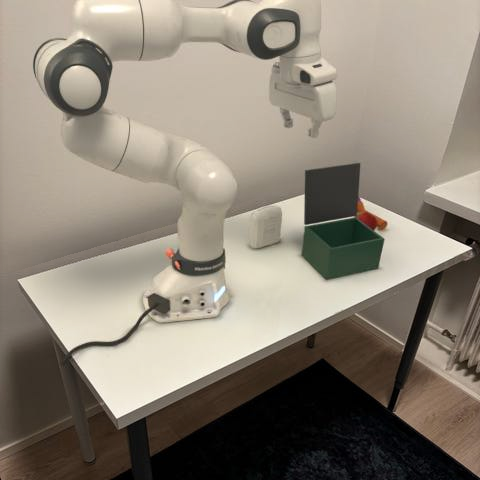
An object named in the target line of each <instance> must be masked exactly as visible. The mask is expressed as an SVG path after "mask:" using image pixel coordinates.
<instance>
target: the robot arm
mask: <svg viewBox="0 0 480 480" xmlns="http://www.w3.org/2000/svg"><path fill="white" fill-rule="evenodd" d="M321 3H322V2H321V0H260V1H259V2H255V1H253V0H231V1H229V2H227V3H225V4H223V5H221V6H218V7H204V6H203V7H201V6H184V5H180V4H178V3H176V1H174V0H75V2H74V3H73V6H72V9H71V16H70V22H71V31H70V34H69V36H68V37H67V38H62V37H55V38H54V37H53V38H50V39H47V40H46V41H44V42H42V43H41V44H40V45H39V47H38V48H37V50H36V51H35V53H34V56H33V61H32V69H33V75H34V77H35V79H36V82H37V83H38V86H39V88H40V89H41V91H42V93H43V94H44V95H45V97H46V98H48V100H49V101H50V102H51V103H52V104H53V105H54V106H55V107H56V108H57V109H58V110H60V111H61V113H62V120H61V124H60V137H61V141H62V144H63V146H64V148H65V149H66V150H68V151H69V152H70V153H71V154H73V155H75V156H77V157H79V158H80V159H82V160H84V161H86V162H89V163H91V164H93V165H95V166H97V167H99V168H102V169H104V170H107V171H110V172H113V173H115V174H117V175H118V174H119V175H122V176H124V177H127V178H130V179H134V180H136V181H139V182H142V183H145V184H146V183H147V184H148V183H160V184H165V185H169V186H171V187H173V188H175V189H176V190H178V191H179V192H180V194H181V197H182V209H181V215H180V216H179V218H178V219H177V224H176V226H177V242H178V248H177V250H176V252H175V251H174V250H173V248H168V249H166V251H165V255H166V256H167V258H168V259H169V260H171V264H169V265H168V266H166V268H164V269H163V270H161V271H160V272H159V273H157V275H156V276H154V277H153V279H152V283H151V287H150V288H151V289H148V290H146V291H145V292H144V294H143V297H142V304H143V307H144V310H145V311H144V312H143V313H142V314H141V315H140V316H139V318H138V319H137V321H136V322H135V324H134V325H133V326H132V327H131V329H129V331H127V333H126V334H125V335H123V337H121V338H118V339H116V340H112V341H102V340H101V341H99V340H98V341H97V340H96V341H87V342H85V343H81V344H79V345H77V346H75V347H73V348H72V349H70V350H69V351H68V352H67V353H66V354H65V356H64V358H63V359H62V360H61V362H60V366H62V367H63V366H65V365H66V363H67V362H68V360H69V359H70V358H71V356H72V355H73V354H74V353H76V352H77V351H79V350H81V349H85V348H87V347H90V346H115V345H118V344H121V343H123V342H125V341H126V340H127V339H128V338H130V337H131V336H132V335H133V334H134V332H135V331H136V330H137V329H138V327H139V326H140V324H141V323H142V321H143V320H144V319H145V318H146V317H147V315H148V316H149V318H151V319H152V320H153V321H154V322H157V323H159V324H160V323H161V324H164V323H173V322H182V321H183V322H184V321H192V320H201V319H211V318H217V317H218V316H219V315H220V313H221V310H222V309H223V308H225V306H226V305H227V304H228V303H229V301H230V292H229V290H228V286H227V282H226V276H225V269H226V263H227V260H226V259H227V257H226V249H225V248H224V239H225V238H224V237H225V236H224V234H225V233H224V232H225V219H226V216H227V212H228V209H229V208H231V206H233V204H234V203H235V201H236V199H237V196H238V191H239V189H238V183H237V180H236V178H235V176H234V174H233V172H232V170H231V169H230V168H229V166H228V165H227V164H226V163H225V162H223V160H221V159H220V158H219V157H217V156H216V154H214V153H213V152H211V150H210V149H208V148H207V147H206V146H205V145H203V144H201V142H197V141H194V140H192V139H189V138H186V137H183V136H179V135H176V134H173V133H169V132H166V131H162V130H159V129H157V128H155V127H151V126H149V125H147V124H145V123H142V122H141V121H137V120H135V119H133V118H131V117H128V116H125V115H124V114H121V113H118V112H117V111H116V112H115V111H114V110H111V109H109V108H108V107H107V106H104V104H105V102H106V100H107V97H108V94H109V89H110V82H111V76H112V72H113V68H114V67H113V65H114V64H113V63H115V62H123V61H124V62H152V61H160V60H164V59H169V58H172V57H173V56H174V55H175V54H176V53H177V52H178V50H179V49H180V47H181V45H183V44H187V43H188V44H189V43H217V44H220V45H222V46H224V47H225V48H227V49H228V50H231V51H233V52H236V53H242V54H243V55H245V56H248V57H252V58H255V59H257V60H261V61H262V60H263V61H268V60H273V59H275V58H278V59H279V60H278V61H276V62H274V64H273V65H272V67H271V70H270V71H271V72H270V73H271V74H270V76H269V82H268V100H269V103H270V104H271V105H272V106H273V107H277V108H279V113H280V116H281V118H282V120H283V128H286V129H291V128H293V127H294V119H292V117H291V113H290V112H292V113H293V114H294V113H295V114H298V115H300V116H302V117H303V116H304V117H306V118H309V119H310V123H311V124H312V125H311V128H308V131H307V132H308V137H309V138H313V139H315V138H318V137H319V135H320V133H319V132H320V131H319V130H320V128H321V126H322V123H324V122H327V121H330V120H332V119H334V117H335V115H336V113H337V86H336V83H335V82H334V80H336V79H337V77H338V72H337V68H335V67H334V66H333V65H332V64H330V63H329V62H328V61H327V60H326V59H325V58H324V57H323V56H321V54H322V48H321V44H320V34H321V30H322V4H321Z"/></svg>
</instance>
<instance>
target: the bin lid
mask: <svg viewBox="0 0 480 480" xmlns="http://www.w3.org/2000/svg"><path fill="white" fill-rule="evenodd" d="M360 176H361V163H360V162H355V163H354V162H353V163H347V164H339V165H333V166H325V167H324V166H323V167H318V168H311V169H305V170H304V203H303V206H304V208H303V209H304V212H303V224H304V225H305V226H309V225H315V224H321V223H326V222H332V221H337V220H343V219H349V218H354V217H355V216H357V214H358V212H357V208H358V196H359V192H360V191H359V190H360V179H361V178H360Z"/></svg>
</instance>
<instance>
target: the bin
mask: <svg viewBox="0 0 480 480" xmlns="http://www.w3.org/2000/svg"><path fill="white" fill-rule="evenodd" d="M303 229H304V230H303V238H302V246H301V255H300V256H301V257H302V258H303V259H304V260H305V261H306V262H307V263H308V264H309V265H310V266H311V267H312V268H313V269H314V270H315V271H316V272H317V273H318V274H319V275H320V276H321V277H322V278H323V279H324V280H325V281H329V280H333V279H338V278H342V277H347V276H351V275H355V274H361V273H364V272H365V273H366V272H369V271H373V270H378V269H379V267H380V262H381V257H382V253H383V248H384V244H385V239H386V238H384V237H383V236H382V235H380V234H379V233H378V232H376V231H375V230H372V229H371V228H370V227H368V226H367V225H366V224H364V223H363V222H362V221H360V220H359V219H358V218H356V217H355V216H353V217H348V218H342V219H337V220H331V221H325V222H320V223H314V224H309V225H305V226H304V228H303Z"/></svg>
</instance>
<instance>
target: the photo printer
mask: <svg viewBox="0 0 480 480" xmlns="http://www.w3.org/2000/svg"><path fill="white" fill-rule="evenodd" d="M282 220H283V210H282V207H280V206H279V205H277V204H276V205H275V204H270V205H264V206H261V207H259V208H257V209H255V210H254V211H252V212H251V214H250V225H249V246H250V248H251V249H261V248H263V247H267V246H270V245H275V244H277V243H280V241H281V233H282V232H281V231H282Z"/></svg>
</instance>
